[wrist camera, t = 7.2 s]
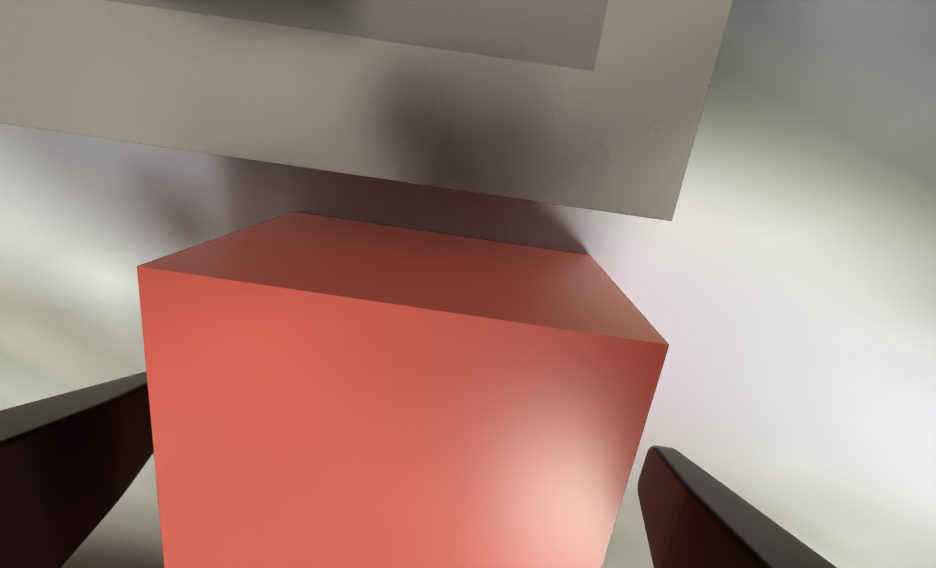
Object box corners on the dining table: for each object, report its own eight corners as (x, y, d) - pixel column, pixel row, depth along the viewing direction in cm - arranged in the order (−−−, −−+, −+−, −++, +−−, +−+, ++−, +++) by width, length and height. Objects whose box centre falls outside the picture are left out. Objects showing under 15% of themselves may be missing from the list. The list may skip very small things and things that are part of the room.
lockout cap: (589, 255, 10) (668, 344, 5) (534, 495, 12) (560, 701, 7) (293, 211, 10) (136, 266, 6) (289, 458, 12) (171, 641, 8)
